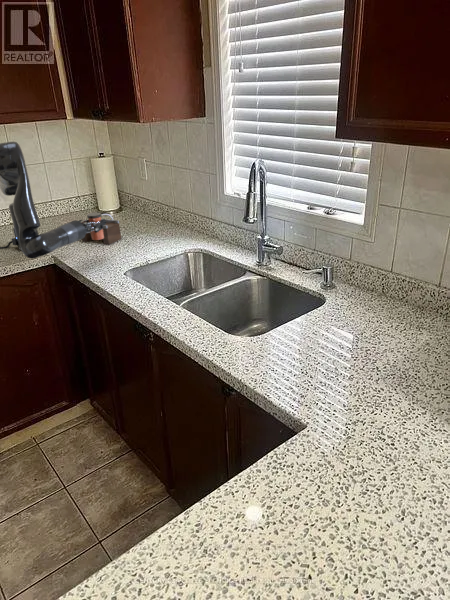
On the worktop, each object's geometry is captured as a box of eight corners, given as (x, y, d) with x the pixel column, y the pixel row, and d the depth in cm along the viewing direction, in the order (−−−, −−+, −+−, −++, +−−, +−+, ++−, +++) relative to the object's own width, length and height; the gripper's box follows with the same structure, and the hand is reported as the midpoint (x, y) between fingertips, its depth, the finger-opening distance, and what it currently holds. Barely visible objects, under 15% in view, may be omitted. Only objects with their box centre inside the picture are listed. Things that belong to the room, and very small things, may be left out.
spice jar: (88, 239, 182) (84, 215, 177) (97, 235, 186) (93, 211, 182) (98, 240, 179) (94, 216, 175) (107, 236, 184) (103, 213, 179)
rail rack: (82, 241, 208) (78, 223, 204) (94, 235, 215) (91, 217, 212) (109, 244, 202) (106, 226, 198) (121, 238, 209) (118, 220, 205)
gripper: (83, 225, 164) (112, 213, 177) (53, 221, 170) (84, 210, 183) (86, 244, 167) (115, 231, 181) (57, 240, 173) (87, 228, 187)
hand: (99, 220), depth 182 cm, fingers closed on spice jar, 5 cm apart
